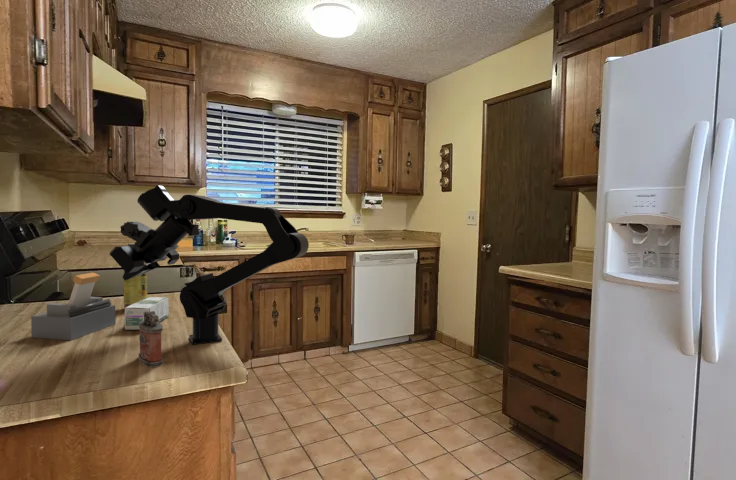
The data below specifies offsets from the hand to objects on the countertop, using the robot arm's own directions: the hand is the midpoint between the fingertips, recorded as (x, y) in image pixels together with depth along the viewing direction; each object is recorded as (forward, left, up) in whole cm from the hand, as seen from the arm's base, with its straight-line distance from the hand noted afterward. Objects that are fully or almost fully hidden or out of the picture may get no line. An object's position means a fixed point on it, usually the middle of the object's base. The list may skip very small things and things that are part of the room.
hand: (124, 278), depth 99 cm
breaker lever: (+8, +10, -8) cm, 15 cm away
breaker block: (+8, +10, -13) cm, 19 cm away
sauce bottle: (+28, -3, -14) cm, 31 cm away
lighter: (-22, -5, -14) cm, 27 cm away
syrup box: (+15, -8, -10) cm, 20 cm away
